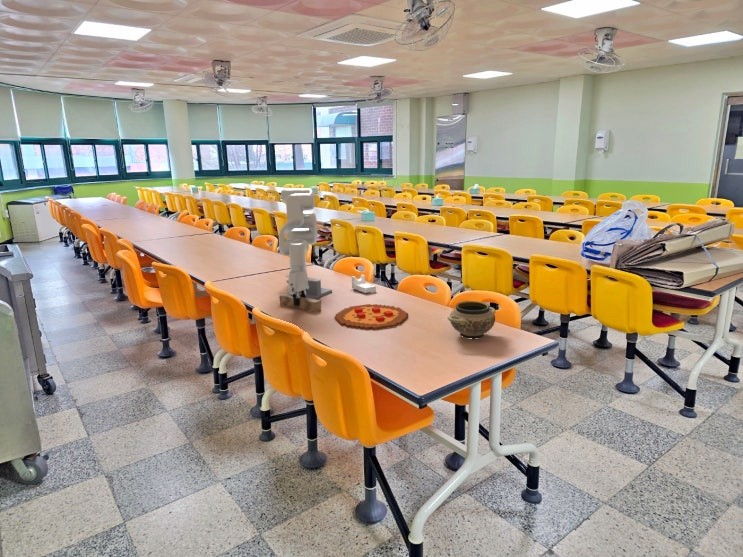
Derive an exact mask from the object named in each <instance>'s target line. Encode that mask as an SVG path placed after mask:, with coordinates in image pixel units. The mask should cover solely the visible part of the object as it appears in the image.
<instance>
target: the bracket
mask: <svg viewBox="0 0 743 557" xmlns="http://www.w3.org/2000/svg"><path fill="white" fill-rule="evenodd" d="M351 288H352V289H354V290H356V291H359V292H361V293H365V294H367V293H368V294H369V292H370V294H374V293H377V286H376V285H374V284H371V283H367V282H366V275H364V274H360V277H359V279H357V277H356V276H354V275H353V276H352V275H351Z"/></svg>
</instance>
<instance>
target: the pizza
mask: <svg viewBox="0 0 743 557" xmlns="http://www.w3.org/2000/svg"><path fill="white" fill-rule="evenodd" d="M406 318H408V319H409V313H408V312H406V311H405V310H404V309H402V308H401V307H399V306H398V307H395V305H391V306H390V305H387V304H384V305H383V304H377V303H375V304H370V303H368V304H360V305H353V306H352V305H351V306H349V307H344V309H341V310H340V311H339V312H337V313H335V316H334V320H336V321H337V323H339V325H341V326H342V327H343V326H345V327H346V328H352V329H357V328H358V329H360V330H365V331H367V329H368V330H373V331H376V330H375V329H377V330H381V329H382V328H384V329H388V328H387V327H390V328H394V327H393V326H399V325H398V324H401V325H402V324H404V322H406V320H407V319H406ZM403 321H404V322H403Z"/></svg>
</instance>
